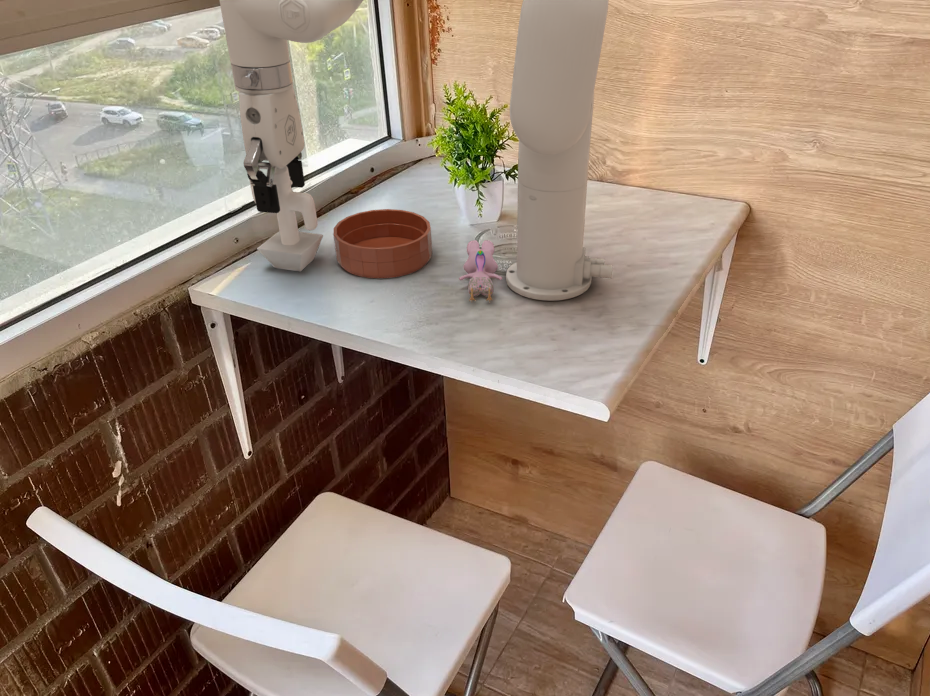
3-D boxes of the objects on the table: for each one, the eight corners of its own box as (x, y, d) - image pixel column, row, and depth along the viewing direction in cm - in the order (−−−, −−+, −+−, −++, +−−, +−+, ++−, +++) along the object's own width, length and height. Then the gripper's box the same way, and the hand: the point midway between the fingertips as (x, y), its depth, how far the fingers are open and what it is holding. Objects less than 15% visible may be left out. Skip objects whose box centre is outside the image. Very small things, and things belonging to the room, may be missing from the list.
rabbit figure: (502, 310, 109) (500, 249, 120) (503, 277, 105) (500, 216, 116) (459, 311, 109) (460, 250, 120) (457, 277, 105) (459, 217, 115)
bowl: (440, 241, 125) (439, 212, 122) (420, 282, 113) (417, 251, 110) (353, 235, 126) (350, 206, 123) (324, 276, 115) (319, 245, 112)
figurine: (311, 278, 114) (295, 180, 105) (254, 269, 116) (234, 173, 107) (333, 257, 120) (320, 162, 111) (278, 249, 122) (261, 156, 113)
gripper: (264, 95, 95) (284, 224, 104) (312, 62, 109) (326, 179, 118) (206, 91, 95) (232, 220, 105) (261, 59, 109) (279, 175, 119)
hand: (282, 198), depth 112 cm, fingers open, 9 cm apart
